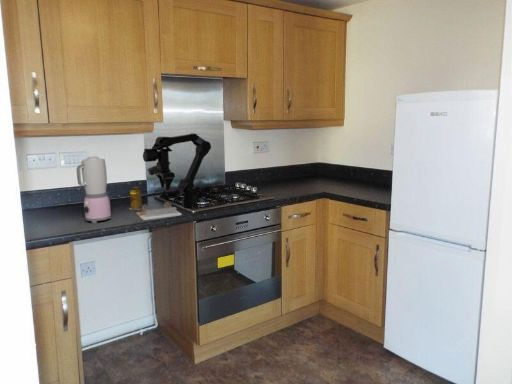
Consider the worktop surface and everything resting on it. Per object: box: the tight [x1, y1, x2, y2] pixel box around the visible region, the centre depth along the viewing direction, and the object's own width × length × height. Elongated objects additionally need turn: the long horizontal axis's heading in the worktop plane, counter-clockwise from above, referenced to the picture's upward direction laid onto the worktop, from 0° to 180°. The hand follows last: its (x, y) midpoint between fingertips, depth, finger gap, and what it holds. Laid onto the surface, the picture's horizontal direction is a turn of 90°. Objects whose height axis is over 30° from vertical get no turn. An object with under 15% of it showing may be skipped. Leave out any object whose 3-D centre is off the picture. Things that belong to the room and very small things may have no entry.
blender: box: [76, 155, 112, 224], centre depth 211 cm, size 16×12×32 cm
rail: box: [144, 206, 177, 217], centre depth 222 cm, size 16×3×3 cm, turn 118°
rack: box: [136, 201, 178, 217], centre depth 228 cm, size 20×6×5 cm, turn 118°
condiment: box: [128, 186, 143, 211], centre depth 240 cm, size 7×8×12 cm
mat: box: [140, 210, 183, 221], centre depth 222 cm, size 20×8×1 cm, turn 118°
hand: (165, 189), depth 232 cm, fingers open, 9 cm apart
